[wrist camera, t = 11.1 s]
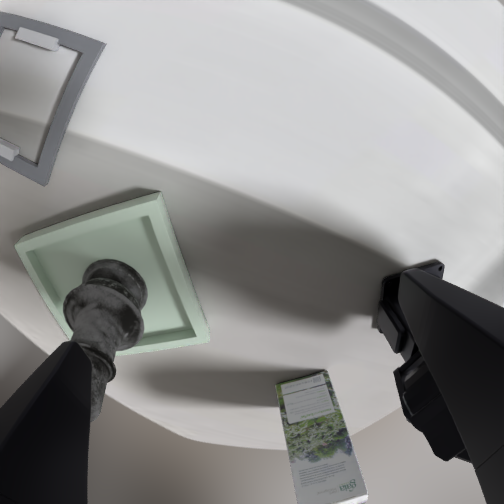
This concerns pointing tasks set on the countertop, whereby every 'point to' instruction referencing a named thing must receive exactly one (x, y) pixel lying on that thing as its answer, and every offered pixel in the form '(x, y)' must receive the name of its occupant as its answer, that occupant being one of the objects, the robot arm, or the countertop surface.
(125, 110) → the countertop surface
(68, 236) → the tray
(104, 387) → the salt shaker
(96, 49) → the socket
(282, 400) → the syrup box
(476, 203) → the countertop surface
